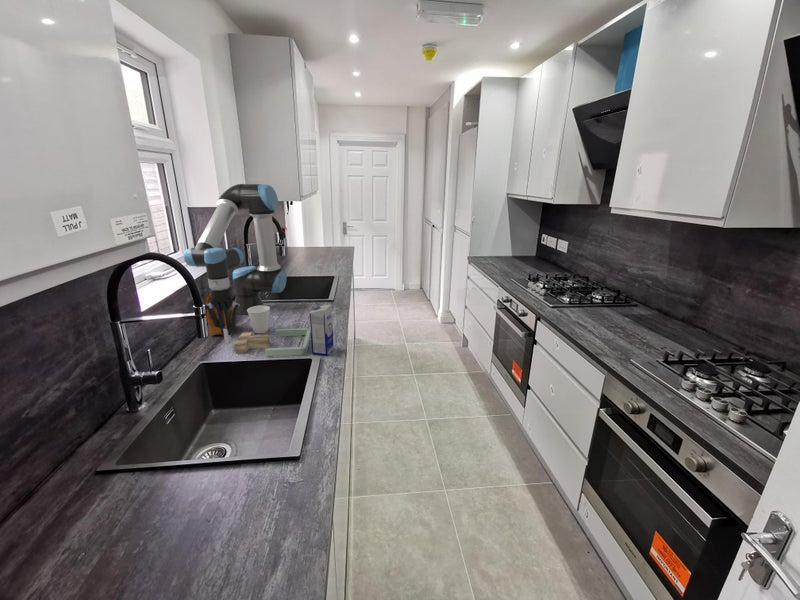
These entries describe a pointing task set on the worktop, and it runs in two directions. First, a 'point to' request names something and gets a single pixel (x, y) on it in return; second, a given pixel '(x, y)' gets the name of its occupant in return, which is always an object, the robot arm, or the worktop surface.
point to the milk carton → (321, 330)
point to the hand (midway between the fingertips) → (228, 342)
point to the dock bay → (291, 350)
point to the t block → (251, 342)
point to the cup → (259, 318)
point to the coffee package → (211, 325)
